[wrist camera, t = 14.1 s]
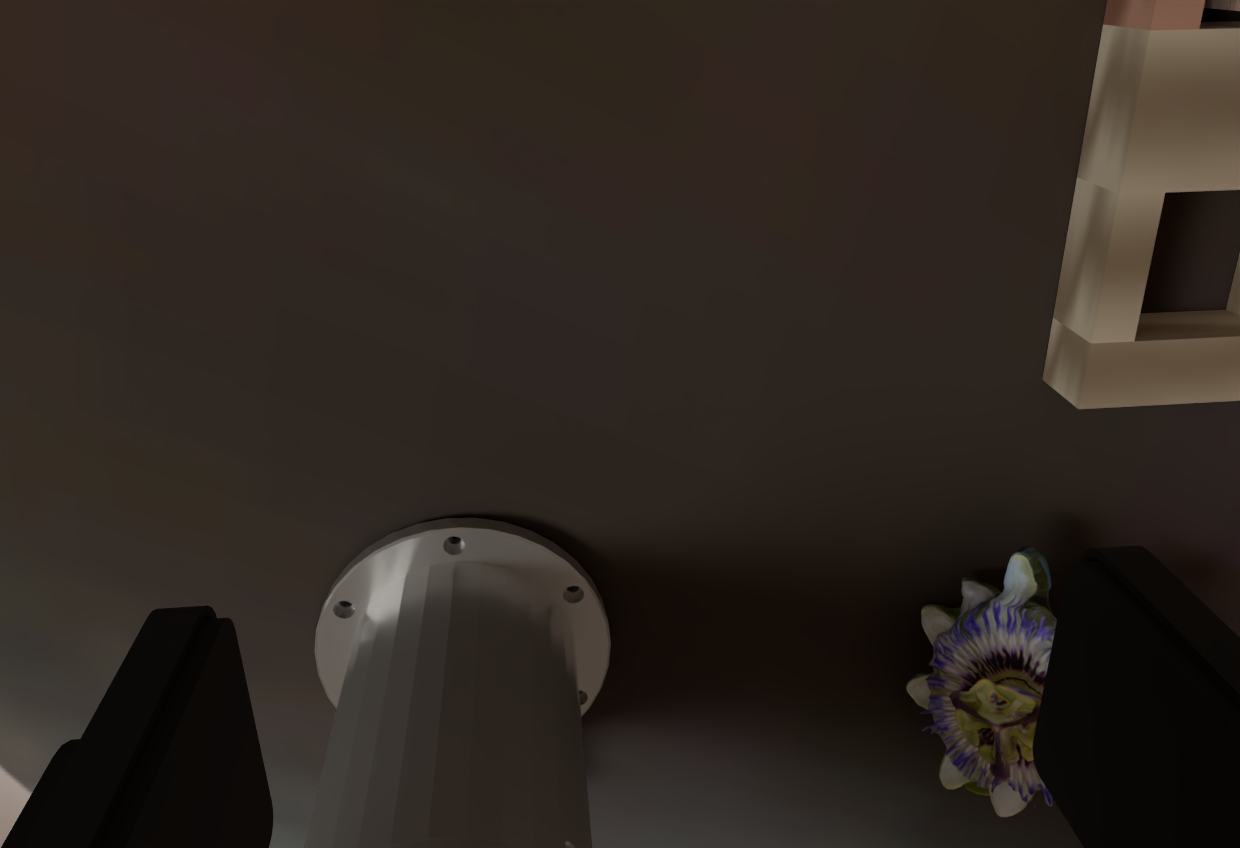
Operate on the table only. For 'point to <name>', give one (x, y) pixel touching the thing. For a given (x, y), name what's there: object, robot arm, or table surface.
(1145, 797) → the robot arm
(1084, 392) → the block with square holes
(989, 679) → the passion flower
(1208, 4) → the peg
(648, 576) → the table surface
